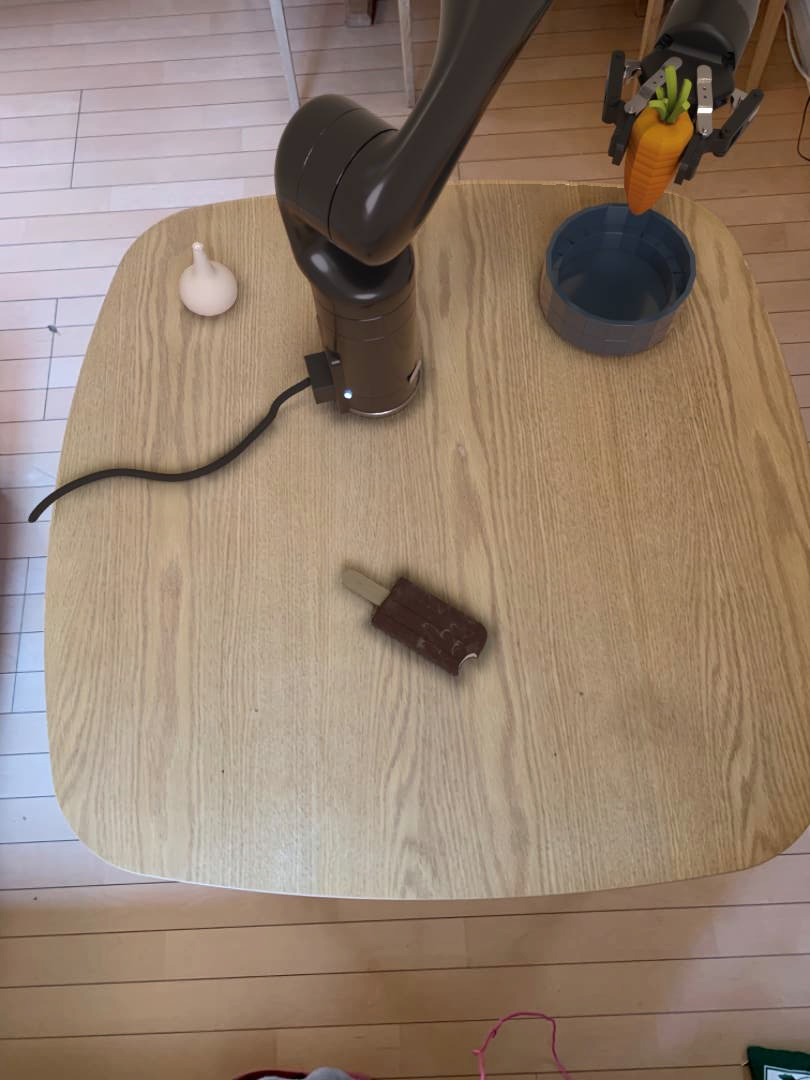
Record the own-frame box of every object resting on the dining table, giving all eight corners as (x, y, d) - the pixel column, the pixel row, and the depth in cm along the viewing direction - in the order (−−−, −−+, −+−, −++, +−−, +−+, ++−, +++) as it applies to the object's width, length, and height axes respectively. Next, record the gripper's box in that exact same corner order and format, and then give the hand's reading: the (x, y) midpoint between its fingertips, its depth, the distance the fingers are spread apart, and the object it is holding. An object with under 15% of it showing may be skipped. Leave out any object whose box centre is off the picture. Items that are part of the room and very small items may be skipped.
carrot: (659, 238, 79) (708, 106, 65) (606, 231, 80) (643, 98, 65) (664, 196, 81) (714, 59, 67) (612, 189, 81) (650, 51, 67)
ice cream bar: (329, 599, 82) (463, 681, 79) (327, 594, 80) (463, 678, 77) (359, 555, 83) (492, 634, 80) (358, 549, 82) (493, 630, 78)
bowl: (564, 373, 89) (573, 340, 84) (521, 258, 95) (527, 221, 89) (701, 339, 90) (719, 305, 85) (651, 227, 95) (664, 188, 90)
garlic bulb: (172, 305, 94) (149, 258, 86) (206, 265, 96) (186, 215, 88) (218, 330, 93) (199, 284, 85) (251, 289, 94) (235, 240, 87)
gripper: (640, -33, 74) (574, 106, 69) (803, 10, 72) (747, 158, 67) (622, 44, 81) (561, 175, 76) (770, 85, 79) (717, 224, 74)
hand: (648, 166), depth 71 cm, fingers closed on carrot, 5 cm apart
